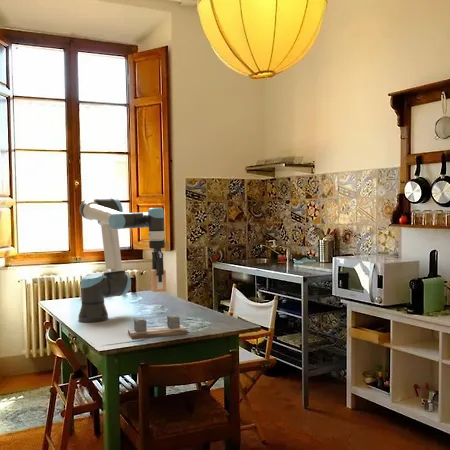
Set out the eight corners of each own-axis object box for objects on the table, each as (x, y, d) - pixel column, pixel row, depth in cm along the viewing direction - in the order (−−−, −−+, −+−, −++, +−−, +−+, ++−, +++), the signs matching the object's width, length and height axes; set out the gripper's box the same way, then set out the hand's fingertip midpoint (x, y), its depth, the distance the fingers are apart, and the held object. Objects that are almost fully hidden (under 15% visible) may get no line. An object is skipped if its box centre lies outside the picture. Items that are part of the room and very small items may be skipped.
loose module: (151, 290, 257) (150, 269, 257) (163, 289, 259) (162, 268, 259) (153, 292, 251) (153, 270, 251) (166, 291, 254) (165, 269, 253)
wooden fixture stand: (127, 333, 246) (127, 317, 246) (180, 328, 254) (179, 312, 254) (132, 339, 234) (131, 322, 234) (186, 333, 243) (186, 317, 242)
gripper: (145, 239, 262) (146, 286, 263) (153, 241, 244) (155, 291, 245) (160, 238, 265) (161, 284, 265) (169, 240, 247) (170, 289, 248)
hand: (158, 287), depth 255 cm, fingers closed on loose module, 6 cm apart
